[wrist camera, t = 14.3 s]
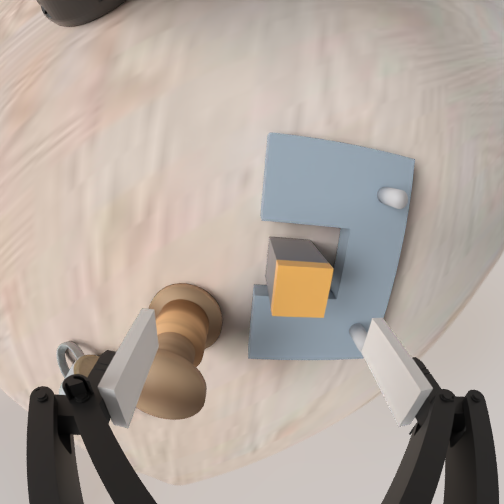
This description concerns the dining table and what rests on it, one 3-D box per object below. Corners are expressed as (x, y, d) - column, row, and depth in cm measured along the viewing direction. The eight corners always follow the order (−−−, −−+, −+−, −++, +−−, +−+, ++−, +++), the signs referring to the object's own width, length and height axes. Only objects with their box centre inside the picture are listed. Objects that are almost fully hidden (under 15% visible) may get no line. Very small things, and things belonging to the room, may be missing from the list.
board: (267, 135, 24) (273, 127, 19) (402, 159, 25) (432, 159, 20) (248, 344, 31) (248, 377, 25) (362, 345, 31) (379, 373, 26)
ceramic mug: (133, 373, 32) (113, 413, 25) (113, 400, 34) (95, 436, 26) (69, 325, 30) (39, 357, 23) (57, 358, 32) (31, 388, 25)
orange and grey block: (269, 236, 27) (278, 265, 19) (310, 240, 27) (333, 268, 20) (265, 275, 28) (272, 316, 21) (304, 278, 28) (323, 317, 21)
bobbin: (148, 279, 28) (101, 341, 17) (223, 286, 28) (211, 358, 17) (153, 342, 30) (121, 413, 19) (221, 349, 31) (212, 428, 20)
